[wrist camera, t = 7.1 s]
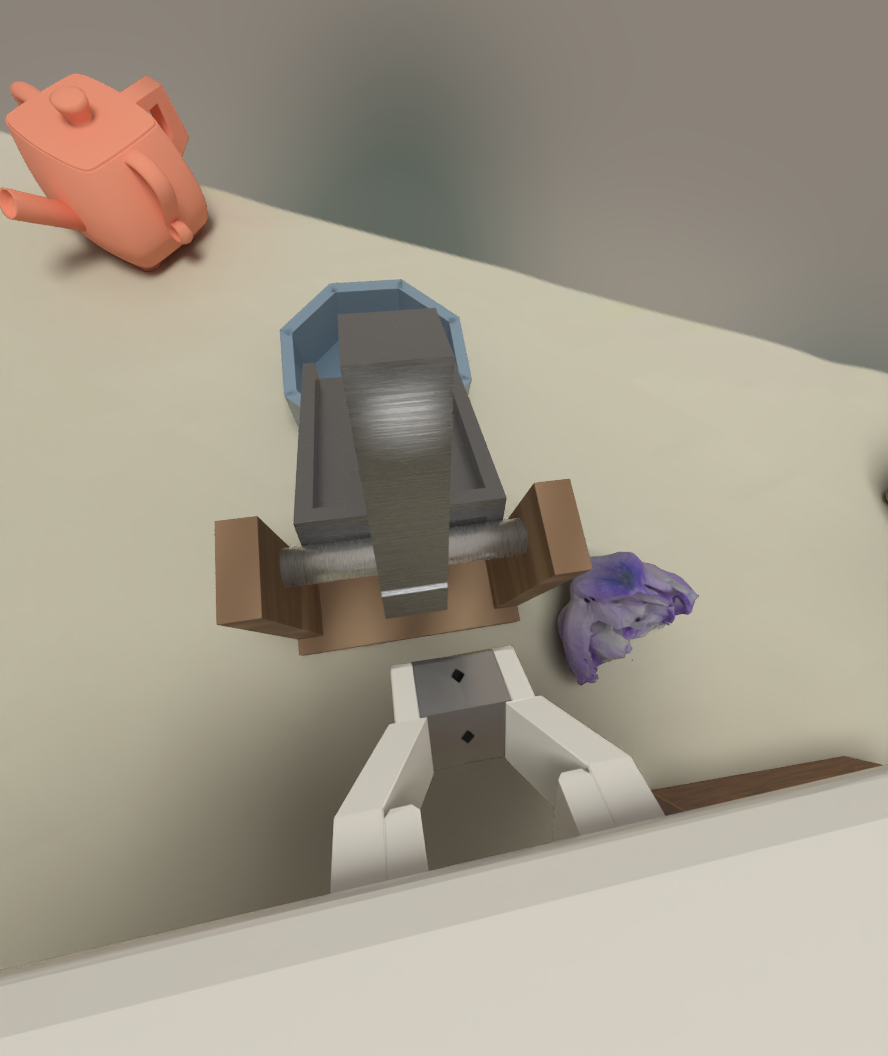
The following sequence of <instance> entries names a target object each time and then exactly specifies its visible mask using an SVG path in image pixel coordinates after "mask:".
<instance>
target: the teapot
mask: <svg viewBox="0 0 888 1056" xmlns="http://www.w3.org/2000/svg"><path fill="white" fill-rule="evenodd" d="M10 91H11V94H12V96H13V97H14V99H15V101H16V102H17V103H18V105H19V106H18V107H17V108H15V109H14V110H13V111H11V112H10V113H9V114H8V115H7V116H6V124H7V126H8V128H9V131H10V133H11V135H12V137H13V139H14V141H15V143H16V145H17V147H18V149H19V151H20V153H21V155H22V157H23V159H24V161H25V163H26V164H27V166H28V168H29V170H30V171H31V173H32V175H33V176H34V178H35V180H36V181H37V183H38V184H39V186H40V187H41V189H42V191H43V192H44V193H45V195H46V196H47V198H46V197H41V196H37V195H33V194H29V193H25V192H20V191H16V190H12V189H8V188H4V187H2V188H0V208H1V210H2V212H3V214H4V215H5V216H6V217H7V218H9V219H12V220H18V221H24V222H30V223H36V224H42V225H49V226H55V227H61V228H67V229H73V230H78V231H80V232H81V233H82V234H83V235H85V236H86V237H87V238H89V239H90V240H91V241H93V242H94V243H96V244H97V245H98V246H100V247H101V248H103V249H105V250H106V251H108V252H110V253H111V254H113V255H115V256H117V257H119V258H121V259H123V260H125V261H127V262H129V263H132V264H134V265H137V266H138V267H139V268H140V269H141V270H143V271H153V270H156V269H157V268H158V267H159V266H160V265H161V261H162V260H164V259H165V258H166V257H167V256H169V255H170V254H171V253H173V252H174V251H175V250H176V249H178V248H179V247H180V246H181V245H183V244H188V243H190V242H191V241H192V239H193V237H194V236H196V235H198V234H199V233H200V231H201V227H202V226H203V225H204V224H205V223H206V222H207V205H206V201H205V198H204V195H203V193H202V191H201V189H200V187H199V185H198V183H197V181H196V179H195V178H194V176H193V174H192V172H191V171H190V169H189V167H188V166H187V164H186V162H185V161H184V160H183V158H182V156H183V153H184V150H185V147H186V144H187V141H188V138H189V135H188V133H187V132H186V130H185V128H184V126H183V124H182V122H181V120H180V118H179V116H178V115H177V113H176V111H175V109H174V107H173V105H172V103H171V101H170V100H169V97H168V96H167V94H166V92H165V90H164V88H163V86H162V84H160V83H158V82H157V81H155V80H153V79H151V78H150V77H148V76H144V77H142V78H141V79H139V80H138V81H136V82H135V83H134V84H132V85H131V86H129V87H128V88H126V89H125V90H123V91H122V92H118V91H116V90H114V89H112V88H111V87H109V86H107V85H105V84H103V83H101V82H99V81H97V80H95V79H92V78H90V77H87V76H84V75H81V74H72V75H69V76H67V77H66V78H64V79H62V80H60V81H58V82H56V83H55V84H53V85H51V86H50V87H48V88H46V89H44V90H43V91H39V90H38V89H36V88H35V87H33V86H31V85H30V84H27V83H25V82H20V81H19V82H14V83H12V84H11V87H10ZM148 111H150V112H151V114H152V116H153V117H152V116H151V115H150V114H149V113H148Z"/></svg>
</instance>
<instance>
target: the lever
mask: <svg viewBox="0 0 888 1056" xmlns="http://www.w3.org/2000/svg"><path fill="white" fill-rule="evenodd" d="M337 317H338V337H339V358H340V369H341V374H342V377H335V378H324V379H319V376H318V372H317V368H316V363H304V364H302V382H301V400H300V417H299V435H298V453H297V471H296V489H295V507H294V527H295V529H296V532H297V535H298V537H299V540H300V543H301V545H302V546H299V547H291V548H283V549H281V551H280V572H281V577H282V581H283V583H284V585H285V587H286V588H289V587H296V586H303V585H310V584H317V583H324V582H332V581H339V580H346V579H353V578H360V577H367V576H374V575H378V578H379V583H380V589H381V594H382V601H383V607H384V612H385V617H386V619H391V618H398V617H404V616H411V615H417V614H424V613H431V612H437V611H444V610H447V608H448V565H453V564H460V563H467V562H474V561H482V560H489V559H496V558H503V557H510V556H517V555H524V554H526V553H527V550H528V535H527V530H526V526H525V523H524V521H523V520H522V519H521V518H515V519H507V520H503V516H504V510H505V504H506V495H505V493H504V490H503V487H502V485H501V482H500V479H499V477H498V474H497V471H496V469H495V466H494V464H493V461H492V458H491V456H490V453H489V450H488V448H487V445H486V442H485V440H484V437H483V434H482V432H481V429H480V427H479V424H478V421H477V419H476V416H475V413H474V411H473V408H472V405H471V403H470V400H469V397H468V395H467V392H466V390H465V387H464V384H463V382H462V379H461V376H460V374H459V371H458V368H457V366H456V363H455V361H454V354H453V352H452V349H451V346H450V344H449V341H448V339H447V336H446V333H445V331H444V328H443V326H442V323H441V320H440V318H439V315H438V312H437V310H436V308H424V309H409V310H394V311H379V312H365V313H350V314H337Z"/></svg>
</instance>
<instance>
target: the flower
mask: <svg viewBox="0 0 888 1056" xmlns="http://www.w3.org/2000/svg"><path fill="white" fill-rule="evenodd" d="M590 561H591V565H592V570H590V571H588V572H586V573H584V574H582V575H580V576H578V577H576V578H573V579H572V582H571V585H570V596H571V598H570V602H569V603H568V604H567V605H566V606H565V607H564V608H563V609H562V610H561V612H560V614H559V616H558V620H557V623H558V630H559V634H560V637H561V640H562V642H563V647H564V653H565V657H566V661H567V664H568V666H569V668H570V670H571V672H572V673H573V674H574V676H575V677H576V679H577V682H578V684H579V685H583V684H585V683H586V682H589V683H594V682H596V680H597V679H598V675H597V674H595V673H596V672H597V668H596V667H598V666H599V665H600V664H603V663H605V662H610V661H611V660H613V659H618V658H625V654H627V653H630V652H631V650H632V647H631V645H630V644H629V643H630V639H634V638H640V637H643V636H645V635H646V634H647V633H648V632H649V631H651V630H652V629H653V628H654V627H655V626H656V627H658V628H659V629H661V628H663V627H664V626H665V624H667V625H669V623H672V622H673V621H674V618H675V615H679V614H690V613H691V611H692V608H693V605H694V602H695V600H696V599H697V598H698V597H699V595H697V594H696V593H695V592H694V591H693V590H692V588H691V587H690V586H689V585H688V584H687V583H686V582H685V581H684V580H683V579H682V578H681V577H679V576H678V575H676V574H674V573H670V572H667V571H665V570H662V569H660V568H658V567H657V566H655V565H653V564H649V563H644V562H641V560H640V559H639V558H638V557H637V556H636V555H635V554H633V553H631V552H617V553H614V554H611V555H605V556H596V557H590ZM700 599H701V598H700ZM632 661H633V660H632Z"/></svg>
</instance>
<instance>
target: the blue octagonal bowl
mask: <svg viewBox="0 0 888 1056" xmlns="http://www.w3.org/2000/svg"><path fill="white" fill-rule="evenodd" d="M424 308H436V310H437V312H438V315H439V318H440V320H441V323H442V326H443V328H444V331H445V333H446V336H447V339H448V341H449V344H450V346H451V349H452V352H453V354H454V361H455V363H456V366H457V368H458V371H459V374H460V376H461V379H462V382H463V384H464V387H465V390H466V392H467V395H468V393H469V389H470V384H471V380H472V378H471V373H470V368H469V363H468V358H467V353H466V348H465V343H464V339H463V334H462V329H461V324H460V319H459V317H458V316H457V315H455V314H454V313H452V312H451V311H449V310H447V309H446V308H444V307H443V306H441V305H440V304H438V303H437V302H435V301H434V300H432V299H431V298H429V297H428V296H426V295H425V294H423V293H422V292H420V291H419V290H417V289H416V288H414V287H413V286H411V285H409V284H408V283H406V282H405V281H403V280H402V279H400V280H383V281H366V282H349V283H332V284H329V285H328V286H327V287H325V288H324V289H323V290H322V291H321V292H320V293H319V294H318V295H317V296H316V297H315V298H314V299H313V300H311V301H310V302H309V303H308V304H307V305H306V306H305V307H304V308H303V309H302V310H301V311H300V312H299V313H297V314H296V315H295V316H294V317H293V318H292V319H291V320H290V321H289V322H288V323H287V324H286V325H285V326H283V327H282V328H281V329H280V340H281V354H282V369H283V384H284V396H285V398H286V400H287V403H288V405H289V407H290V409H291V411H292V413H293V416H294V418H295V420H296V422H297V424H298V426H299V417H300V400H301V382H302V364H304V363H316V368H317V372H318V376H319V379H324V378H335V377H342V374H341V369H340V358H339V337H338V317H337V314H350V313H365V312H379V311H394V310H409V309H424Z"/></svg>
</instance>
